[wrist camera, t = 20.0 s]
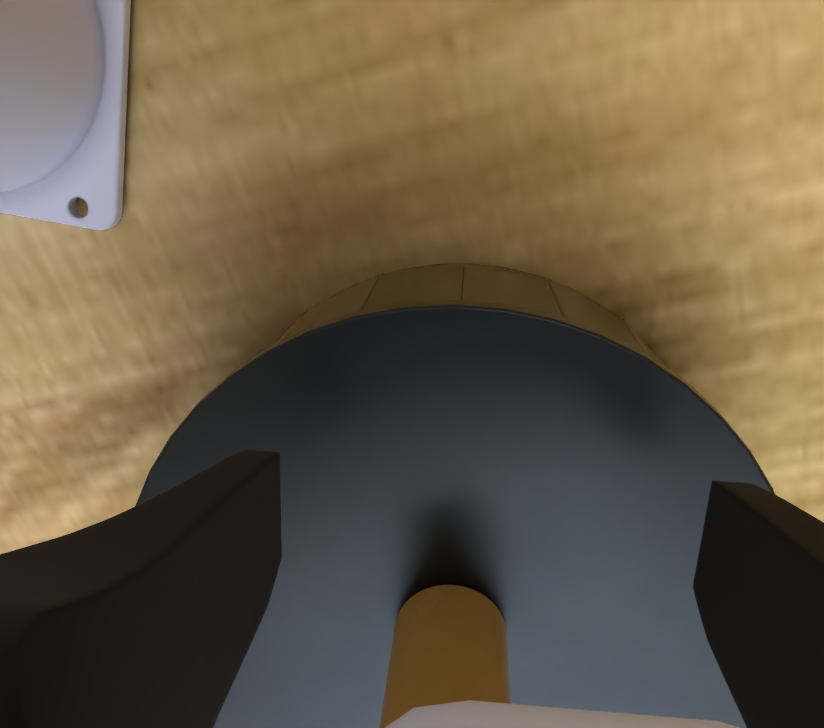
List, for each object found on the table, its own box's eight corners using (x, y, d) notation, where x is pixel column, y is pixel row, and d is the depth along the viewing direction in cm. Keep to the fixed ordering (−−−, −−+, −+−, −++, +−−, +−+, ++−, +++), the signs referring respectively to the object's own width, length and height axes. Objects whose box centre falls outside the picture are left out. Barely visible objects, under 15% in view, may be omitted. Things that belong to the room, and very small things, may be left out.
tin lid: (17, 534, 18) (-133, 675, 13) (528, 139, 14) (552, 154, 10) (399, 915, 21) (379, 1135, 16) (902, 668, 17) (1051, 864, 13)
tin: (207, 646, 24) (137, 789, 19) (247, 221, 20) (169, 260, 15) (631, 726, 24) (674, 892, 19) (765, 313, 20) (867, 385, 15)
